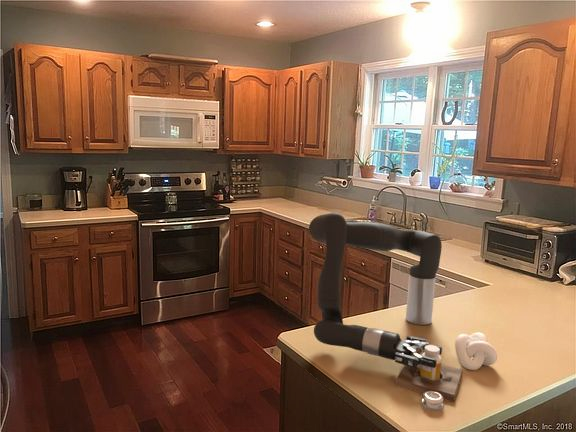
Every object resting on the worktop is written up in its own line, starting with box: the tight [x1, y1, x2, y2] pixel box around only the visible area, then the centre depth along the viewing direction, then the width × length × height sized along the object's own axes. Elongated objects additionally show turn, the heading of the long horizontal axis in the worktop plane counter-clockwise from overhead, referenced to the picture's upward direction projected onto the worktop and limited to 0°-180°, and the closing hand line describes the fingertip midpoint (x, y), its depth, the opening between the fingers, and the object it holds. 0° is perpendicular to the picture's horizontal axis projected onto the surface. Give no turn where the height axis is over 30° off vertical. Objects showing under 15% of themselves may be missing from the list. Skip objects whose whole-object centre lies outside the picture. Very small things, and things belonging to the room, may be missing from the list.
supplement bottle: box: [420, 344, 442, 380], centre depth 126 cm, size 5×5×10 cm
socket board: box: [395, 361, 463, 403], centre depth 127 cm, size 15×15×2 cm
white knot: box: [454, 331, 498, 371], centre depth 136 cm, size 11×12×9 cm
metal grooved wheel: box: [421, 391, 445, 413], centre depth 115 cm, size 5×3×5 cm
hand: (439, 357), depth 125 cm, fingers open, 8 cm apart
